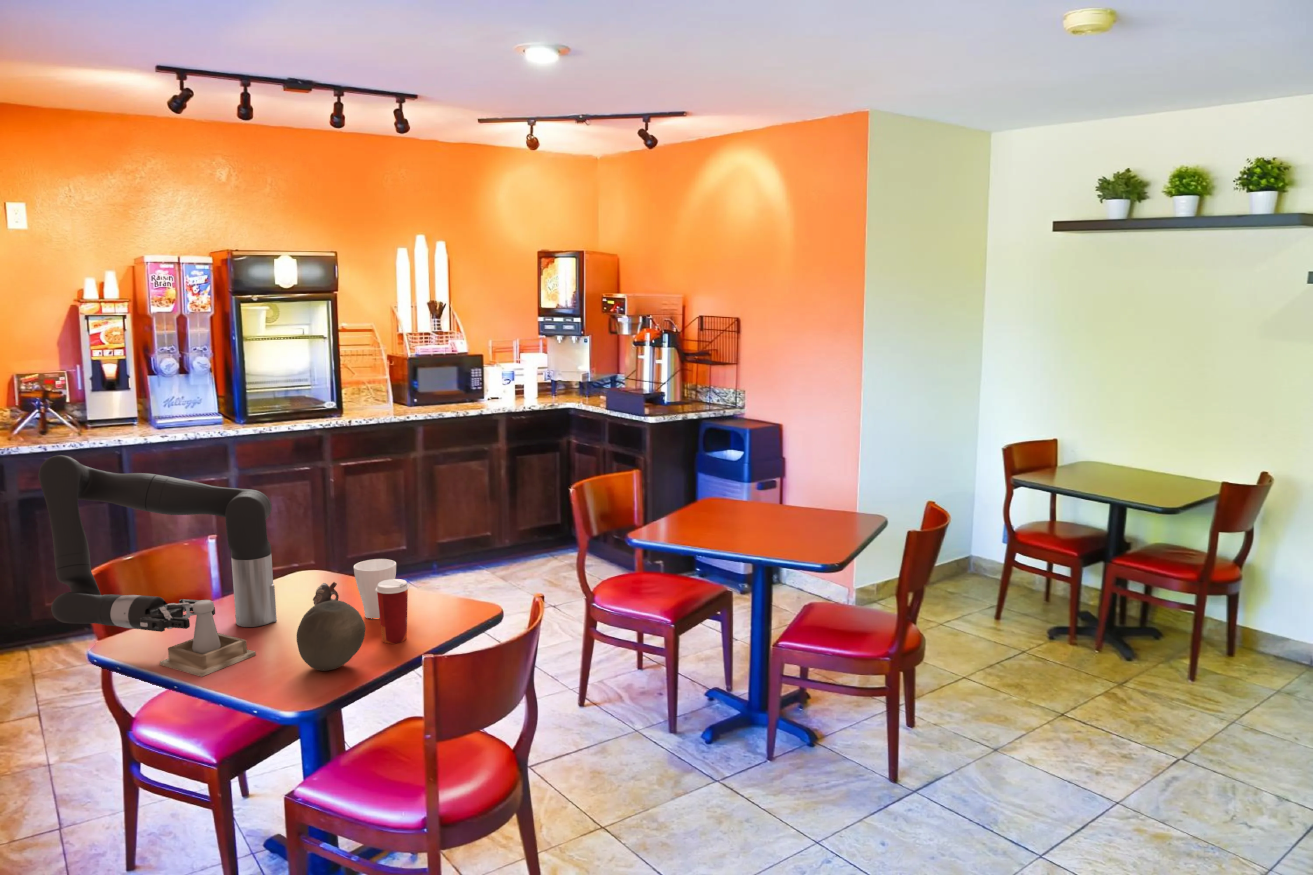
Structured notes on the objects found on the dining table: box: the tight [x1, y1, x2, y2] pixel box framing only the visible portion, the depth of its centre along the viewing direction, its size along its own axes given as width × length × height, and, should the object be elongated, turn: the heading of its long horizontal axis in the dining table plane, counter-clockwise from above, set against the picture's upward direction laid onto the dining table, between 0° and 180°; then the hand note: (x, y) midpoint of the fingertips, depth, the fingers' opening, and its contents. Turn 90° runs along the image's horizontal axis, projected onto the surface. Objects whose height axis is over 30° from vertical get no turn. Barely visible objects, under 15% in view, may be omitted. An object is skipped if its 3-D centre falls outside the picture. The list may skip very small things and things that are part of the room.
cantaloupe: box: [296, 600, 366, 672], centre depth 208 cm, size 14×14×15 cm
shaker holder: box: [159, 632, 257, 678], centre depth 213 cm, size 14×14×4 cm
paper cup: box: [376, 578, 410, 644], centre depth 225 cm, size 8×8×14 cm
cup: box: [353, 558, 397, 620], centre depth 242 cm, size 10×10×14 cm
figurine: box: [312, 581, 339, 606], centre depth 231 cm, size 7×7×12 cm
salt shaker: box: [192, 599, 221, 655], centre depth 212 cm, size 6×6×13 cm
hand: (201, 616), depth 212 cm, fingers open, 8 cm apart
